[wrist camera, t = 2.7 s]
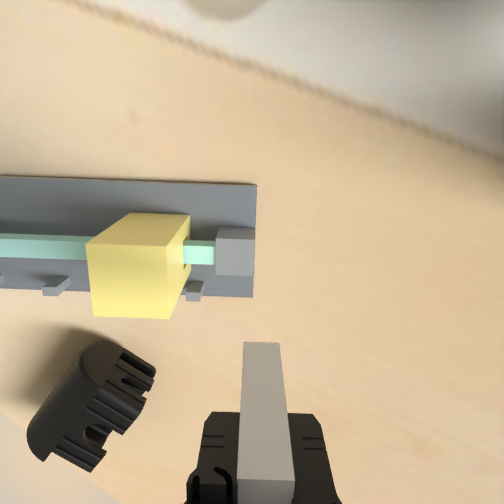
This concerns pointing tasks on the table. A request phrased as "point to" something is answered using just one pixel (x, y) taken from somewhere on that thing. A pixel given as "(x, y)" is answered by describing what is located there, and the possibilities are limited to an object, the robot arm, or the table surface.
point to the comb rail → (109, 212)
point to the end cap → (91, 405)
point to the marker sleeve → (138, 266)
